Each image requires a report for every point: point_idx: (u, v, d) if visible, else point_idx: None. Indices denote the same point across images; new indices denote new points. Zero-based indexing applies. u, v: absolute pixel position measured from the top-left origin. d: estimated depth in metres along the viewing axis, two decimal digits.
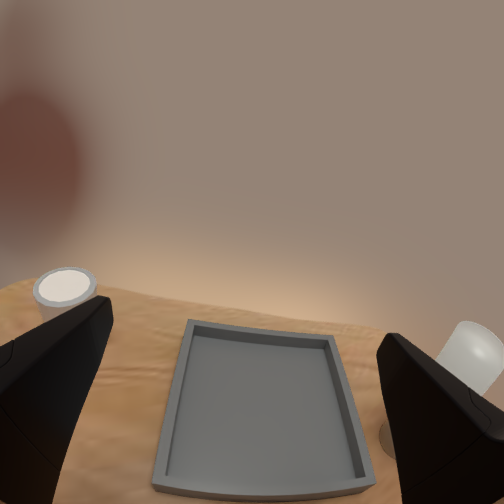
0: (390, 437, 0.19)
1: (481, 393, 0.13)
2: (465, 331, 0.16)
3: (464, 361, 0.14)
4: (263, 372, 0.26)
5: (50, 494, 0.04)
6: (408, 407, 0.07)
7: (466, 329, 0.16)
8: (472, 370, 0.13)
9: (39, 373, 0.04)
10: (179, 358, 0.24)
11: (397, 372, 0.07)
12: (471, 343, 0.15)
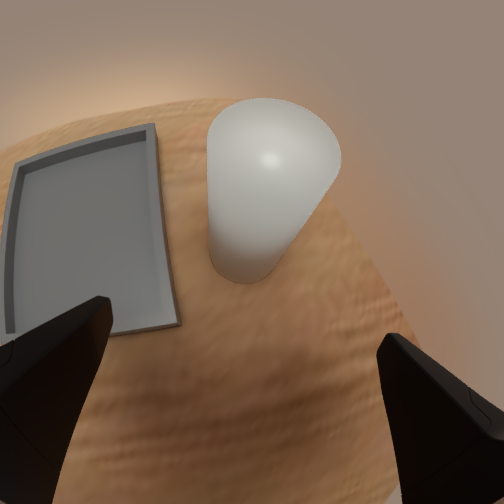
0: (210, 253, 0.21)
1: (282, 228, 0.13)
2: (238, 118, 0.11)
3: (215, 176, 0.11)
4: (77, 190, 0.22)
5: (51, 494, 0.04)
6: (408, 407, 0.07)
7: (243, 115, 0.11)
8: (230, 194, 0.11)
9: (39, 373, 0.04)
10: (5, 210, 0.19)
11: (397, 372, 0.07)
12: (236, 142, 0.11)
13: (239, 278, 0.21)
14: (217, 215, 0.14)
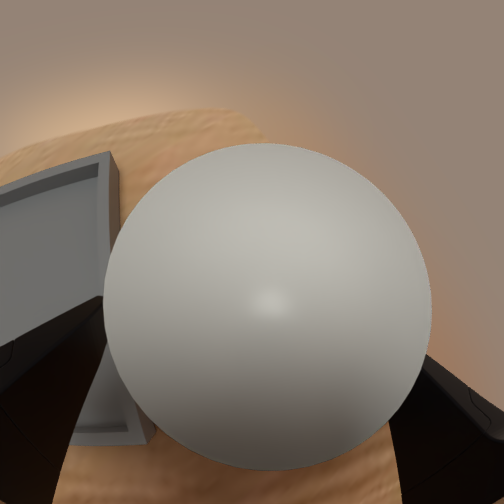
0: None
1: None
2: (185, 218, 0.04)
3: None
4: (21, 246, 0.15)
5: (50, 494, 0.04)
6: (408, 407, 0.07)
7: (200, 203, 0.05)
8: None
9: (39, 373, 0.04)
10: None
11: None
12: (178, 308, 0.04)
13: None
14: None
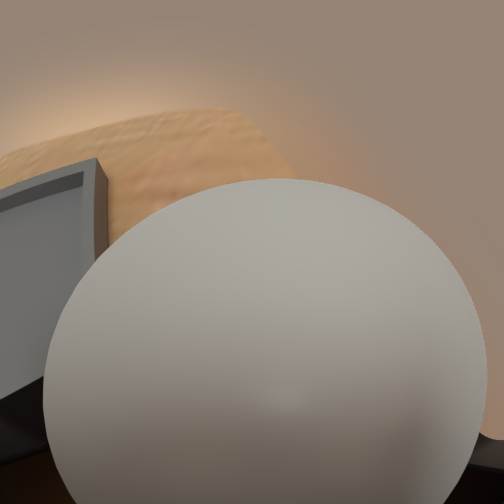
0: None
1: None
2: (145, 325, 0.02)
3: None
4: (5, 262, 0.13)
5: None
6: None
7: (169, 297, 0.03)
8: None
9: None
10: None
11: None
12: (146, 461, 0.02)
13: None
14: None
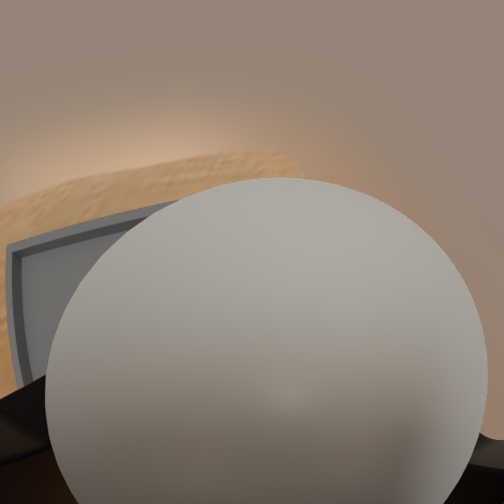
0: None
1: None
2: (148, 324, 0.03)
3: None
4: None
5: None
6: None
7: (172, 296, 0.03)
8: None
9: None
10: (7, 312, 0.16)
11: None
12: (149, 459, 0.02)
13: None
14: None
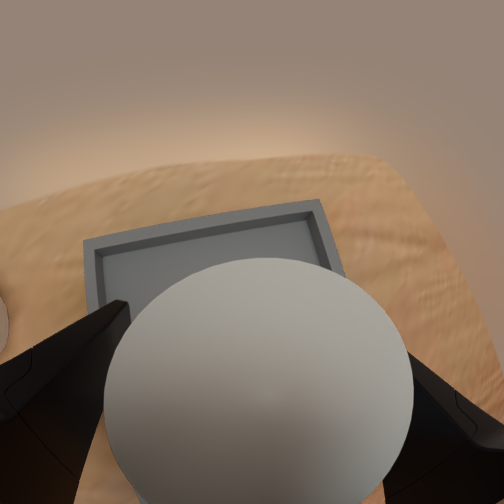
0: None
1: None
2: (172, 357, 0.04)
3: None
4: None
5: (69, 503, 0.04)
6: None
7: (186, 340, 0.04)
8: None
9: (61, 382, 0.04)
10: None
11: None
12: (172, 438, 0.04)
13: None
14: None
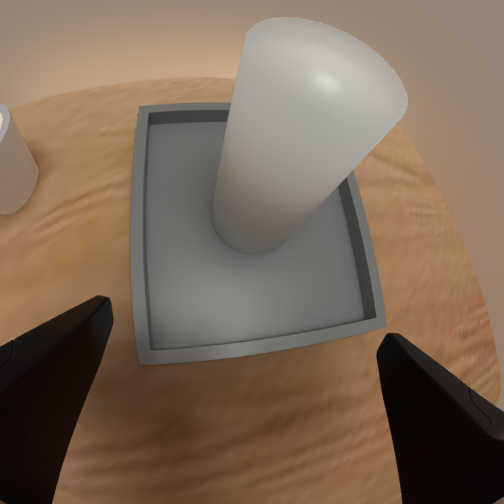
0: (214, 212, 0.17)
1: (327, 170, 0.09)
2: (285, 29, 0.07)
3: (250, 82, 0.07)
4: None
5: (50, 494, 0.04)
6: (408, 407, 0.07)
7: (291, 28, 0.07)
8: (270, 105, 0.07)
9: (39, 372, 0.04)
10: (134, 167, 0.17)
11: (397, 372, 0.07)
12: (284, 48, 0.07)
13: (245, 246, 0.17)
14: (239, 147, 0.10)
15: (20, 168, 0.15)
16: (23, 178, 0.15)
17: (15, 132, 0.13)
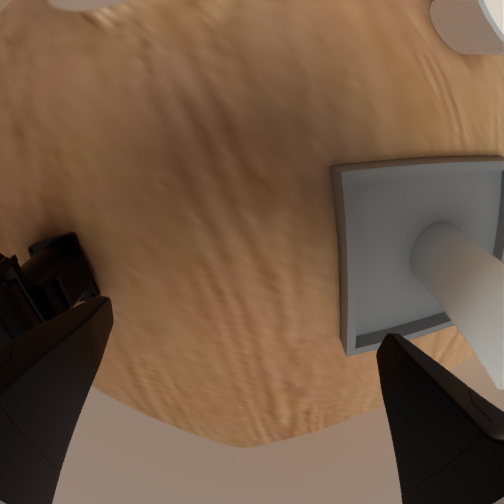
0: (446, 231, 0.18)
1: (480, 342, 0.12)
2: None
3: None
4: None
5: (51, 494, 0.04)
6: (408, 407, 0.07)
7: None
8: None
9: (39, 373, 0.04)
10: (479, 163, 0.16)
11: (397, 372, 0.07)
12: None
13: (421, 254, 0.19)
14: (500, 289, 0.11)
15: (480, 50, 0.11)
16: (470, 49, 0.12)
17: None
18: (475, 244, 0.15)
